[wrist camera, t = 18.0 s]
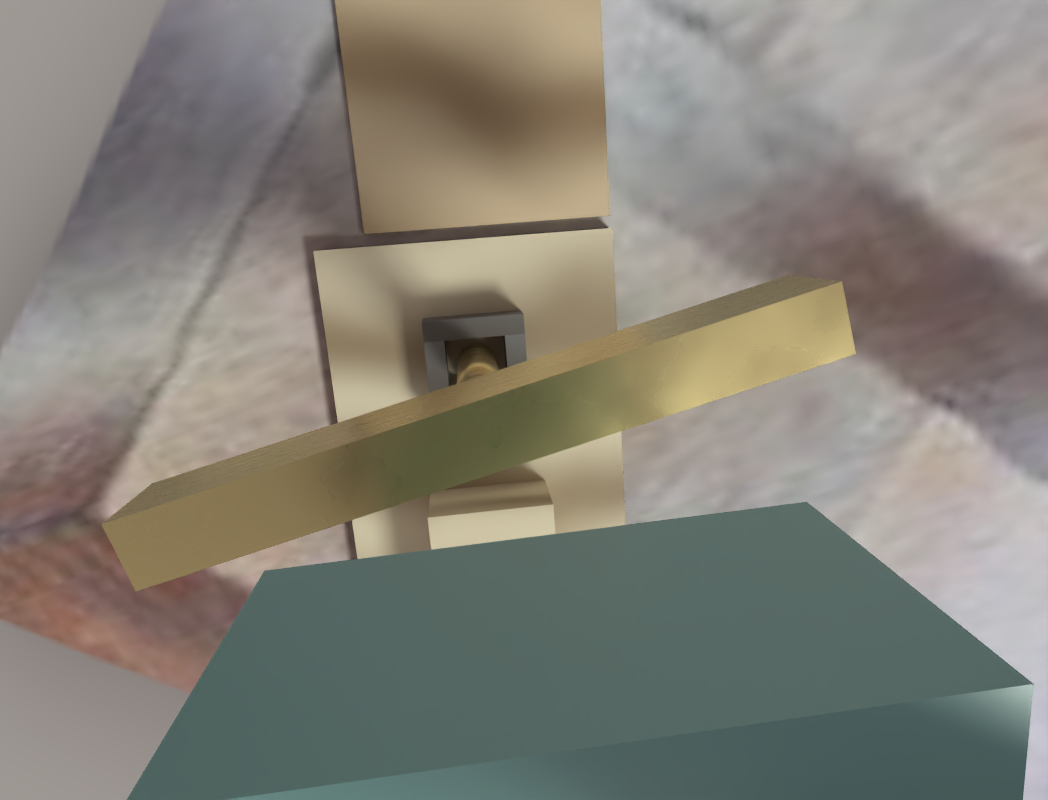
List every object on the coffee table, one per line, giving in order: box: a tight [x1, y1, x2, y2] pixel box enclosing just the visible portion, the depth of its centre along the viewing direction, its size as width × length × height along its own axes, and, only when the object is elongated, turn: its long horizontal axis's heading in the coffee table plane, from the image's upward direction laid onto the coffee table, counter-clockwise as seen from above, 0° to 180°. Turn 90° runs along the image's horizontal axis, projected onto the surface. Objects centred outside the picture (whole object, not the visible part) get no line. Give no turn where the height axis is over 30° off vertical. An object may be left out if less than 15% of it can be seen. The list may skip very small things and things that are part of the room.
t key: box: [102, 275, 856, 591], centre depth 23 cm, size 20×2×11 cm, turn 107°
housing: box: [313, 228, 625, 559], centre depth 29 cm, size 21×12×4 cm, turn 4°
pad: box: [335, 0, 610, 234], centre depth 27 cm, size 10×10×1 cm
